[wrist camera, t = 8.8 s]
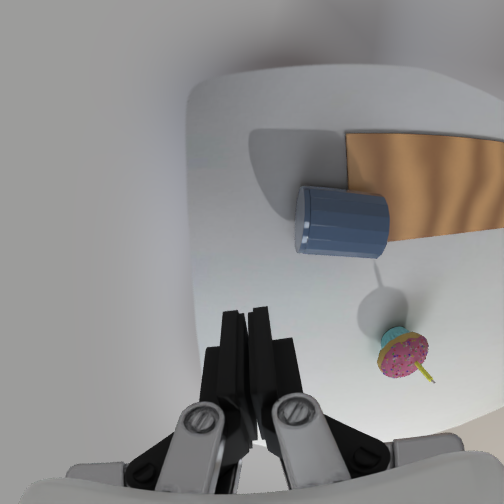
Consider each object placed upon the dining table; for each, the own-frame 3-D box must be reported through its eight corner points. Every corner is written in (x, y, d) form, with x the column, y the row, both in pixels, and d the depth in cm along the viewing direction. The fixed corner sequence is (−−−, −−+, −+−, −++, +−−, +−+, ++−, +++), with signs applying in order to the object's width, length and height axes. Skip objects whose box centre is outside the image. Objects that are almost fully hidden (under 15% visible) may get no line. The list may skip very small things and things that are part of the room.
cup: (301, 254, 29) (387, 260, 29) (306, 180, 29) (390, 190, 28) (292, 251, 36) (364, 256, 36) (296, 191, 36) (367, 198, 36)
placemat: (348, 245, 38) (348, 246, 37) (345, 133, 32) (346, 133, 31) (533, 223, 37) (535, 223, 36) (541, 148, 31) (542, 149, 30)
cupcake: (410, 308, 42) (445, 358, 31) (419, 340, 45) (449, 388, 34) (363, 335, 44) (389, 391, 33) (377, 364, 47) (400, 416, 36)
